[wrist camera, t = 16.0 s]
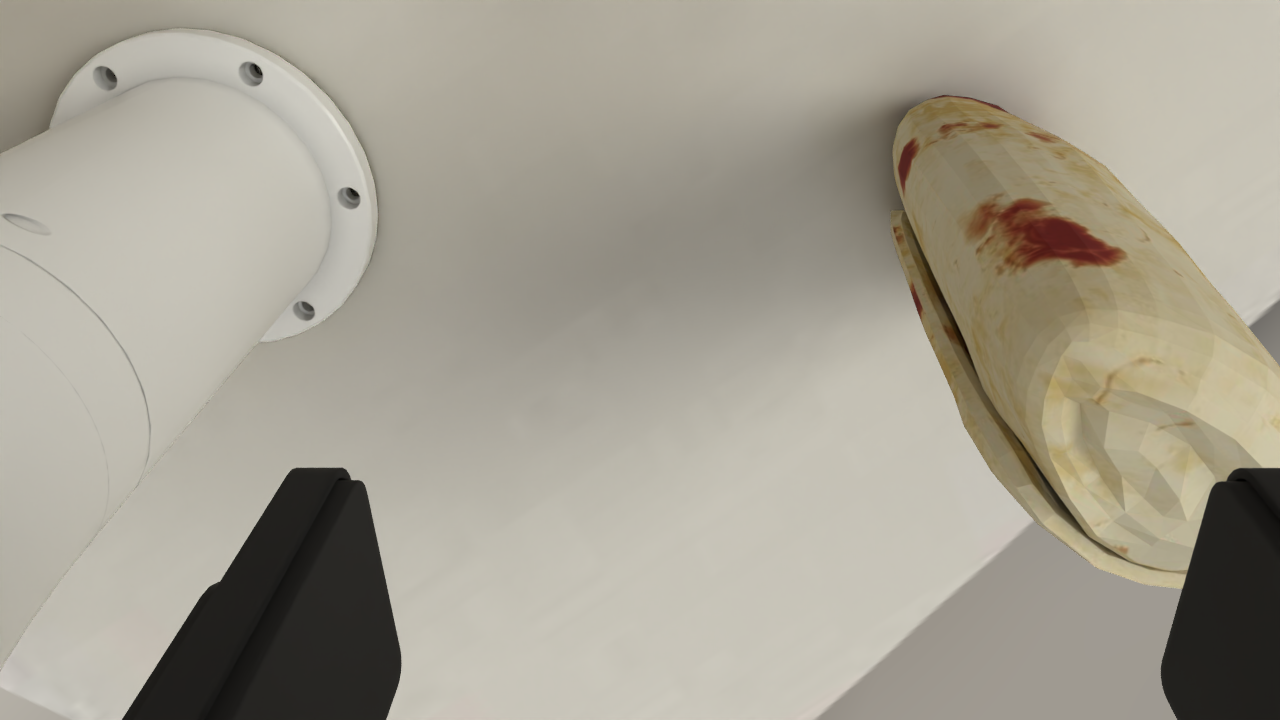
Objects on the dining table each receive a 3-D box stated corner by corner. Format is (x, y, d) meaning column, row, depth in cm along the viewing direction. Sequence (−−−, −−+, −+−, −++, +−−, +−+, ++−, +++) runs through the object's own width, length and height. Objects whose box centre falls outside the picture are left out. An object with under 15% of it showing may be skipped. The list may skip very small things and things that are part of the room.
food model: (1124, 195, 38) (1480, 531, 20) (984, 313, 41) (1191, 699, 23) (951, 16, 35) (1188, 226, 18) (812, 154, 38) (900, 455, 20)
